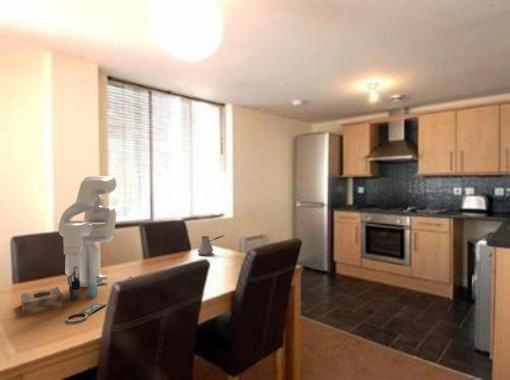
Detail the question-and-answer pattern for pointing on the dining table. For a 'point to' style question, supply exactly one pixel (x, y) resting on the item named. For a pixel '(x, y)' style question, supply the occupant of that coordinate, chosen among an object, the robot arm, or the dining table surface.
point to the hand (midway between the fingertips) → (73, 286)
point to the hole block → (41, 300)
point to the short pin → (92, 289)
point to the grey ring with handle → (84, 313)
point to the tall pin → (72, 291)
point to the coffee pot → (206, 245)
